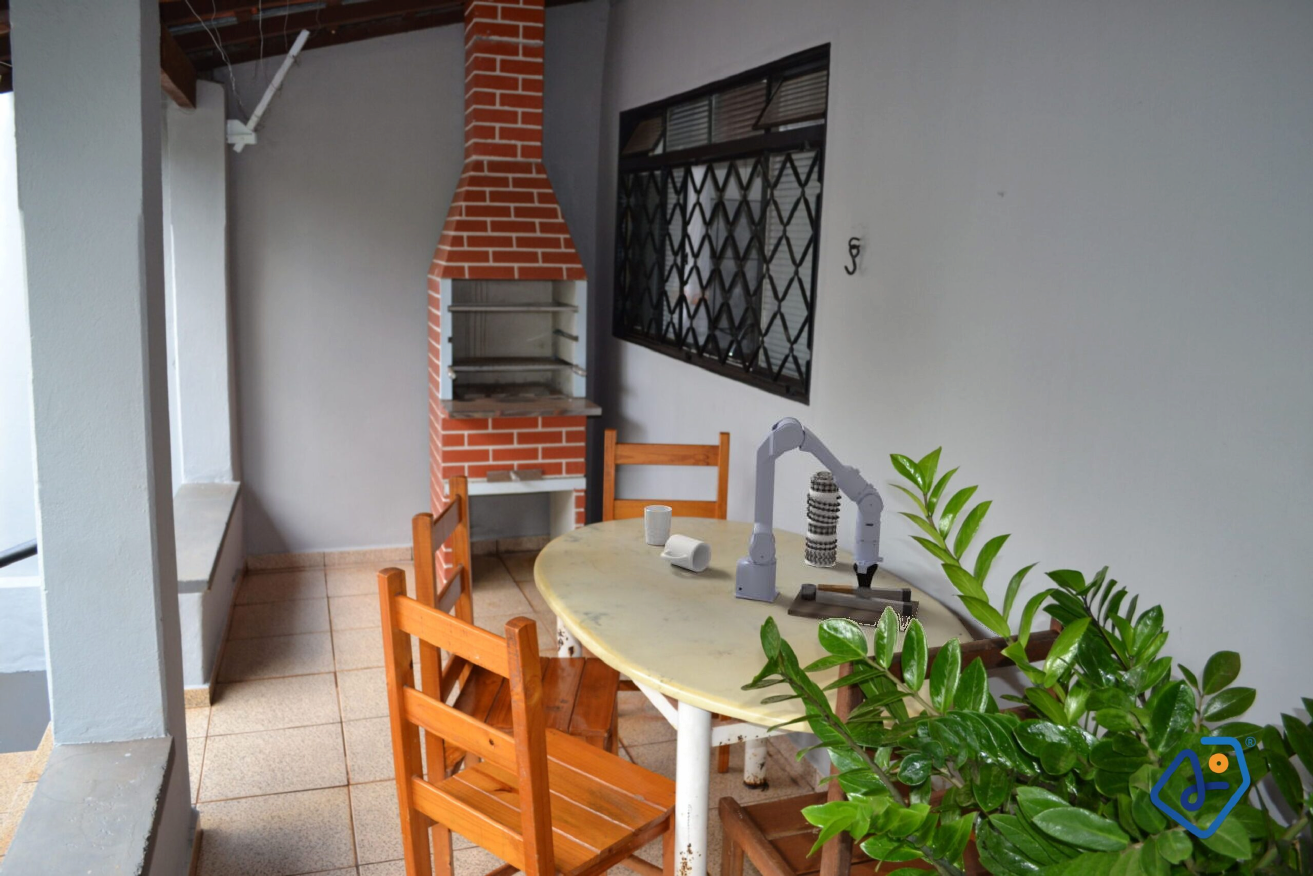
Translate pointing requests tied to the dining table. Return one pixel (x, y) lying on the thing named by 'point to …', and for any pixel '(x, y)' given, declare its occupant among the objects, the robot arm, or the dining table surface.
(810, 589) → the tong arm
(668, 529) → the white cup
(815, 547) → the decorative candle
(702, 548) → the mug
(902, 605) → the grey long bar
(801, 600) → the walnut board
